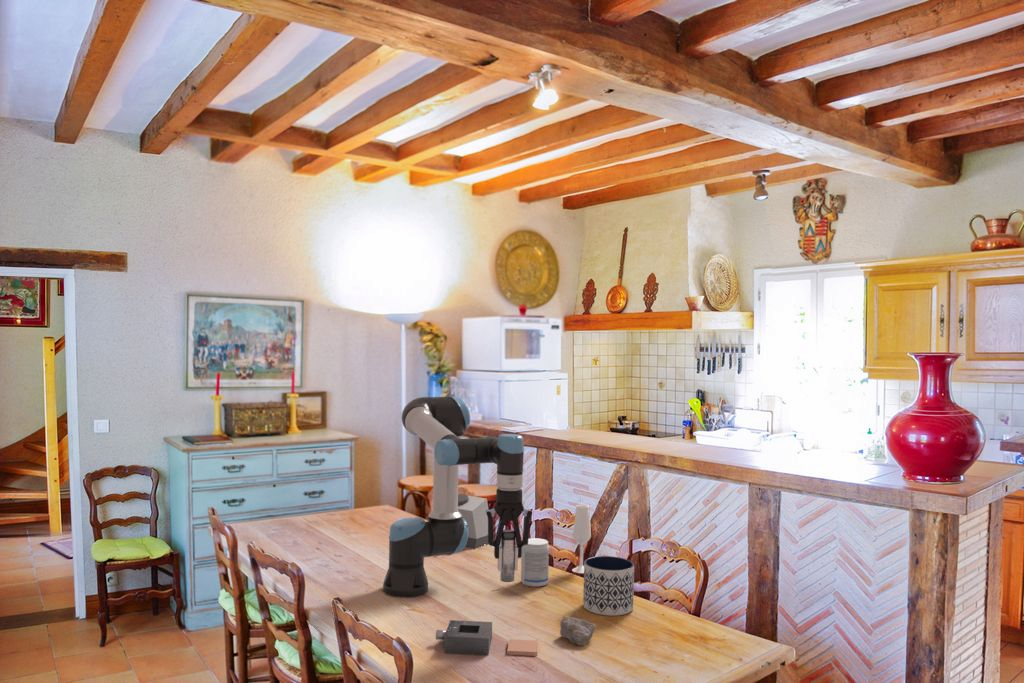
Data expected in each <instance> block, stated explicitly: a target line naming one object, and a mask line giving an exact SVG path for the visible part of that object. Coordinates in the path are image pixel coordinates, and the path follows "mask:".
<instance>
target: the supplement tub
mask: <svg viewBox="0 0 1024 683" xmlns="http://www.w3.org/2000/svg"><path fill="white" fill-rule="evenodd" d="M549 551H550V548H549V541H548V540H547V539H544V538H539V537H536V538H535V537H533V538H530V537H529V538H528V544H527V545H524V546H522V553H521V558H520V559H521V561H520V562H521V565H520V566H521V568H520V574H521V576H520V579H521V580H520V581H521V583H522V585H524V586H529V587H533V588H537V587H538V588H539V587H542V586H546V585H547V584H548V583H549V560H550V558H549V556H550V555H549Z"/></svg>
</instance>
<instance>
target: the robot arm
mask: <svg viewBox="0 0 1024 683" xmlns="http://www.w3.org/2000/svg"><path fill="white" fill-rule="evenodd" d="M470 412H471V411H470V409H469V406H468V405H467V403H466V401H465V400H464V399H463V398H462V397H460V396H431V397H430V396H421V397H417V398H414V399H412V400H411V401H409V402H408V403H407V404H406V405H405V406H404V408H403V410H402V413H401V422H402V426H403V427H404V429H405V430H406V431H407V432H409V434H411V435H414V436H418V437H419V438H420V439H421V440H422V441H423V442H425V444H427V445H429V447H431V448H432V449H433V478H432V480H433V481H432V482H433V484H432V486H433V487H432V491H433V492H432V510H431V511H430V512H429V513H428V520H427V521H425V519H424V518H422V517H418V516H415V517H406V518H401V519H398V520H396V521H394V522H393V523H392V524H391V525H390V528H389V536H388V541H389V543H388V544H389V545H388V553H389V554H388V568H387V572H386V575H385V577H384V580H383V584H382V592H383V593H384V594H386V595H388V596H391V597H398V598H411V597H417V596H421V595H424V594H426V593H428V591H429V580H428V576H427V574H426V573H427V572H426V570H425V566H424V565H425V561H424V560H425V558H428V557H436V556H437V557H438V556H445V555H448V556H451V555H455V554H459V553H461V552H462V551H464V549H466V547H465V546H466V544H467V540H468V528H467V526H468V525H467V522H466V521H465V520H464V519H463V518H462V514H461V513H460V512H459V511H458V494H459V465H460V466H462V465H474V464H475V465H476V464H477V465H478V464H495V465H496V487H497V489H496V494H495V496H496V497H495V505H494V508H491V509H489V510H486V514H487V517H488V543H489V544H488V545H489V546H491V547H494V548H493V551H494V552H493V553H494V554H493V556H494V558H495V559H497V570H498V572H501V571H502V547H501V538H502V533H503V530H505V529H504V527H505V525H506V522H509V521H510V522H512V526H513V531H515V569H514V571H518V568H519V567H518V564H519V561H518V560H519V559H521V553H522V546H524V545H527V544H528V539H529V538H530V537H529V536H530V535H529V534H530V523H531V522H530V521H531V520H530V519H531V517H532V514H533V512H532V511H531V509H529V508H528V509H527V508H525V507H524V506H523V489H522V487H523V483H524V482H523V478H524V476H523V475H524V451H525V447H524V437H523V436H522V435H520V434H517V433H516V434H515V433H501V434H499V436H498V437H497V436H495V435H494V436H493V435H486V436H483V437H474V438H463V437H464V431H467V430H468V429H469V427H470V424H471V413H470ZM495 513H496V514H497V515H498V517H499V520H498V524H497V530H496V535H495V537H494V517H495ZM521 514H523V516H524V517H523V526H522V527H523V528H522V529H523V530H522V537H521V532H520V524H519V517H520V516H521ZM494 538H495V539H494Z"/></svg>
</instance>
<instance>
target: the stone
mask: <svg viewBox="0 0 1024 683" xmlns="http://www.w3.org/2000/svg"><path fill="white" fill-rule="evenodd" d="M559 628H560V631H559V634H560V636H561V637H562V638H566V639H568V640H569V642H571V643H573V644H576V645H579V646H583V647H584V646H586V644H587V643H589V641H590V640H591V639H592V637H593V635H594V633H595V631H596V624H594V623H592V622H588V621H587V620H586V619H583V618H582V619H580V618H579V619H578V618H577V617H574V616H563V617H562V619H561V621H560V627H559Z"/></svg>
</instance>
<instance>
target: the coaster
mask: <svg viewBox="0 0 1024 683" xmlns="http://www.w3.org/2000/svg"><path fill="white" fill-rule="evenodd" d="M507 643H508V644H507V652H506V653H507V654H506V655H510V656H511V655H513V656H532V657H533V656H534V657H536V656H538V645H539V644H538V643H539V642H538V640H535V639H515V638H514V639H512V638H511V639H510V638H509V639H508V642H507Z"/></svg>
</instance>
